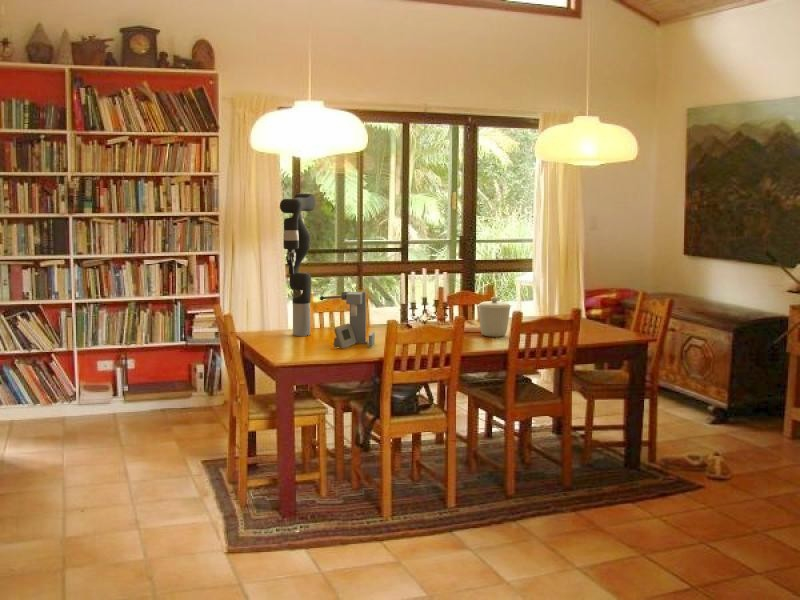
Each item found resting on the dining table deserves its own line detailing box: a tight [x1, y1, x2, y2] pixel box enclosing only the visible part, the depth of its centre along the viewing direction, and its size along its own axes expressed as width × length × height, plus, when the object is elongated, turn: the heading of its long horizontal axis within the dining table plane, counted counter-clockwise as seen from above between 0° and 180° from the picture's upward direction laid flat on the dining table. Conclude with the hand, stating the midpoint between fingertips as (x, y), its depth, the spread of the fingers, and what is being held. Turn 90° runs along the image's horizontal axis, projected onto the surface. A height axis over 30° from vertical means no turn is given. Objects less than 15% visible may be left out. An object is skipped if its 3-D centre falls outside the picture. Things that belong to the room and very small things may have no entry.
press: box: [341, 291, 376, 348], centre depth 431 cm, size 14×17×26 cm
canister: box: [477, 296, 512, 338], centre depth 463 cm, size 18×18×21 cm
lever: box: [319, 294, 346, 301], centre depth 434 cm, size 2×14×2 cm, turn 85°
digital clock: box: [333, 323, 356, 350], centre depth 427 cm, size 16×9×11 cm, turn 148°
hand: (291, 274), depth 432 cm, fingers closed
